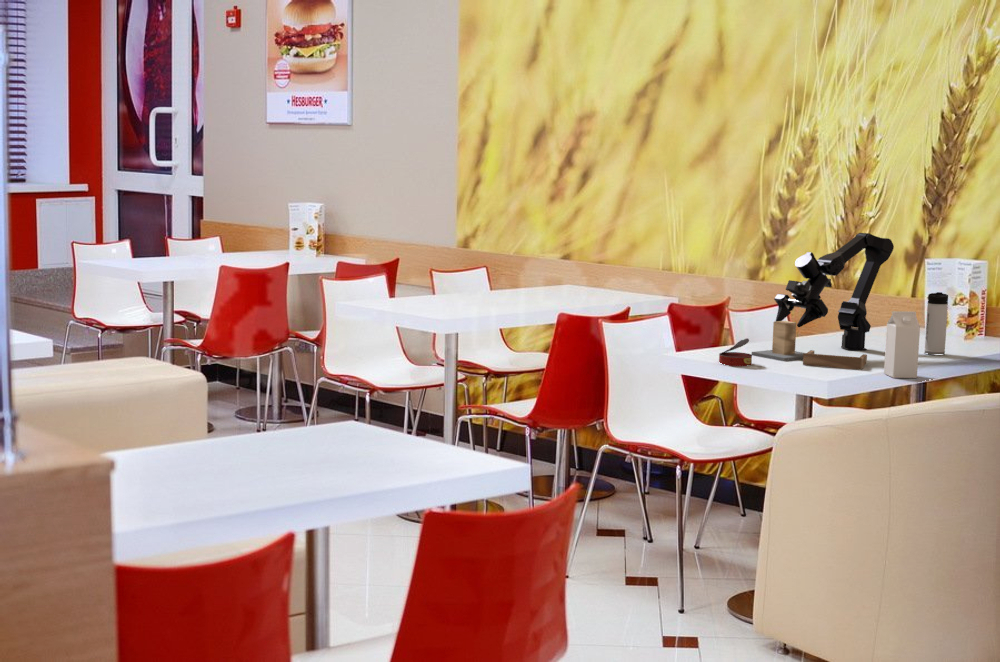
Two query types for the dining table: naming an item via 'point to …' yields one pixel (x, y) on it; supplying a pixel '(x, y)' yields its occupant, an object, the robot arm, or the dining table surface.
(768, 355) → the mat
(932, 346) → the travel mug
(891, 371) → the milk carton
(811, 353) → the tray
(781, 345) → the packed blank
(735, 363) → the canned food
